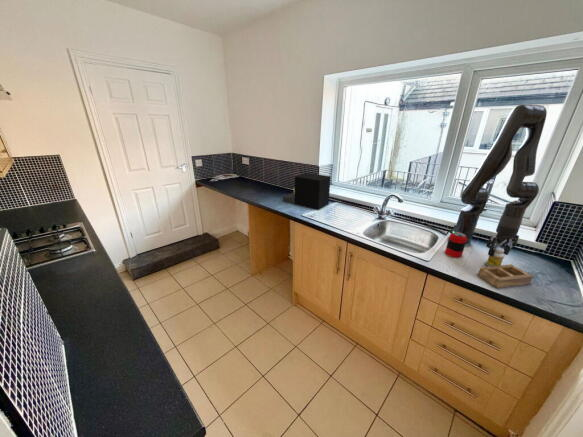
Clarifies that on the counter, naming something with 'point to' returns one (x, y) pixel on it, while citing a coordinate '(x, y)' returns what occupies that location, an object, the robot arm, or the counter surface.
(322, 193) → the black squarish block
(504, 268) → the holder
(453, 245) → the soda can
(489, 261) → the supplement bottle
